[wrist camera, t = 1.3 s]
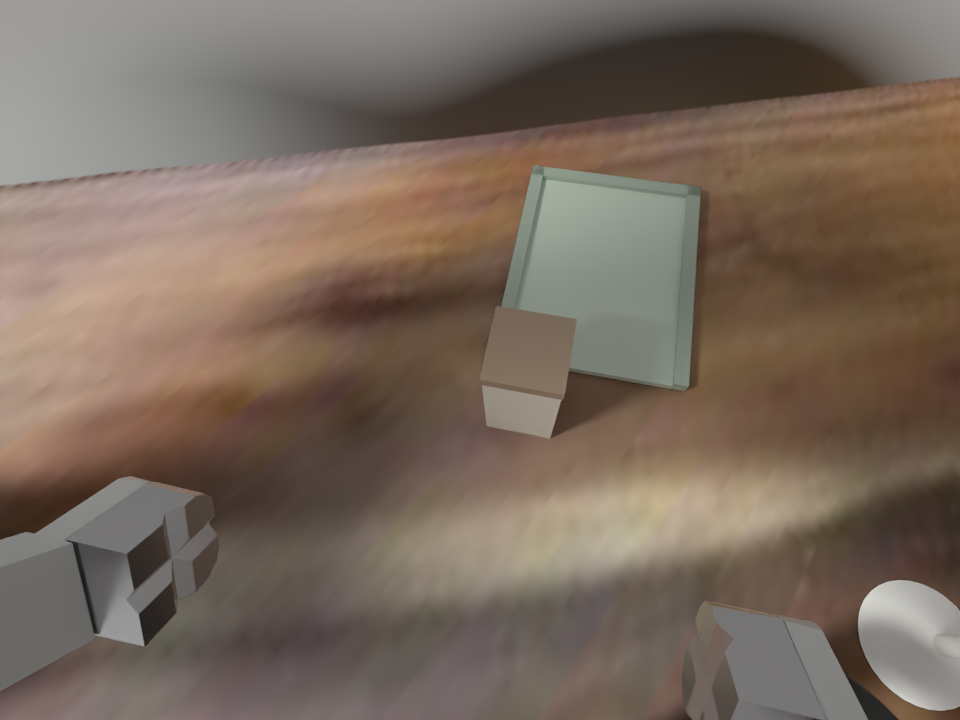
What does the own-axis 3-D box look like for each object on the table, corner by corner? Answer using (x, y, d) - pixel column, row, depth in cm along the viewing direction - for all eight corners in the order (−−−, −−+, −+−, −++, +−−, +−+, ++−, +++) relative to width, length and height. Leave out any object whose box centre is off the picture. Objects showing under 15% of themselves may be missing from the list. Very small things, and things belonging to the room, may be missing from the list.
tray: (491, 357, 39) (491, 351, 38) (532, 173, 46) (533, 165, 45) (684, 391, 37) (689, 386, 36) (696, 195, 44) (701, 186, 43)
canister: (484, 427, 37) (478, 379, 28) (498, 367, 38) (496, 305, 30) (551, 440, 36) (564, 395, 28) (561, 378, 38) (577, 319, 30)
